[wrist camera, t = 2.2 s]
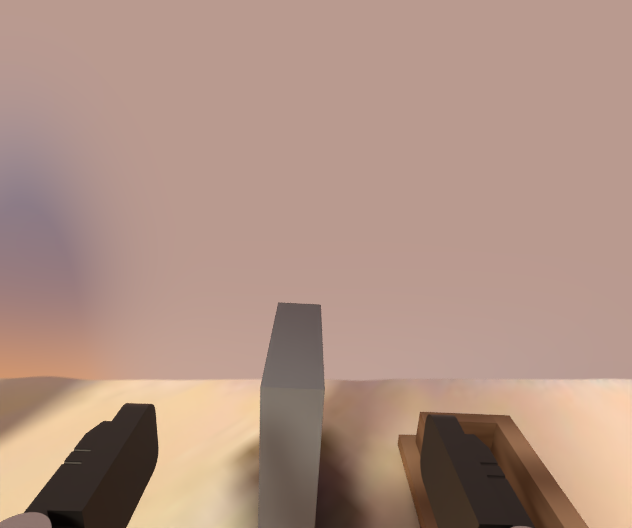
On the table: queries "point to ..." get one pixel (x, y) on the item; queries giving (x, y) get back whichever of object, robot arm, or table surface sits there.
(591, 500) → the table surface
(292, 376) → the grey upright flat block
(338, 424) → the table surface
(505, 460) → the rack
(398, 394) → the table surface
